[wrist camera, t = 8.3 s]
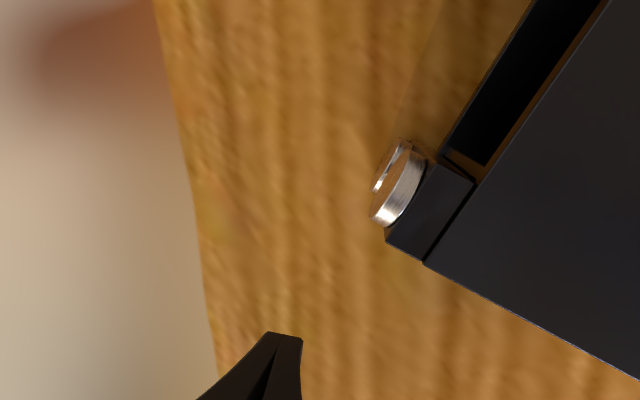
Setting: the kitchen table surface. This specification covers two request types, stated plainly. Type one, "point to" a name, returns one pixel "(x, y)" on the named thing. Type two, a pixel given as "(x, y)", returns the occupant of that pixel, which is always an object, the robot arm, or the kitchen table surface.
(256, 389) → the robot arm
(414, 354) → the kitchen table surface
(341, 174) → the kitchen table surface
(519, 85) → the microwave
